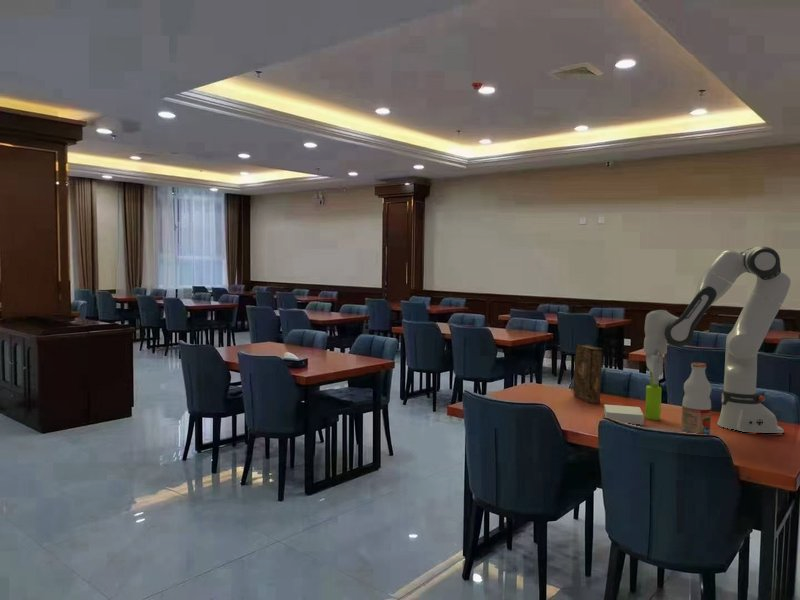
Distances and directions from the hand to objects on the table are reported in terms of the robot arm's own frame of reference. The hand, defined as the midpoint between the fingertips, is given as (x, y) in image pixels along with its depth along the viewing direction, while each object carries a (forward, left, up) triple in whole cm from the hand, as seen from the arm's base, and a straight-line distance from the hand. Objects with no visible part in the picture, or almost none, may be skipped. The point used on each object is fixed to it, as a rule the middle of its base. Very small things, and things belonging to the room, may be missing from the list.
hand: (653, 381), depth 246 cm
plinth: (+12, +7, -15) cm, 21 cm away
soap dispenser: (0, 0, -15) cm, 15 cm away
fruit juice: (-11, +28, -15) cm, 34 cm away
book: (+25, -26, -15) cm, 39 cm away
